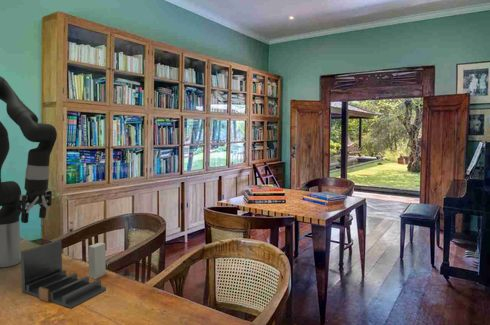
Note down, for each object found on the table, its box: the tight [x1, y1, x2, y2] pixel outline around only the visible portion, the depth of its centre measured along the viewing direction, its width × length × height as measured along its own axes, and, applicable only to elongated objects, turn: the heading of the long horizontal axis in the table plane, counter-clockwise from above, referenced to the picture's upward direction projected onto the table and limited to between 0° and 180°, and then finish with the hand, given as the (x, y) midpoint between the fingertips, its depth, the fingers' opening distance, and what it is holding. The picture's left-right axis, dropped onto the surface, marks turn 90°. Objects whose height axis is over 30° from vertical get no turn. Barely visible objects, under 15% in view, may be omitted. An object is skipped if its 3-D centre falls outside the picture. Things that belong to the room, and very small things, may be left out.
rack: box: [20, 239, 107, 309], centre depth 119 cm, size 23×15×14 cm, turn 65°
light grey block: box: [88, 242, 107, 280], centre depth 132 cm, size 3×5×12 cm, turn 155°
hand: (33, 220), depth 131 cm, fingers open, 8 cm apart
